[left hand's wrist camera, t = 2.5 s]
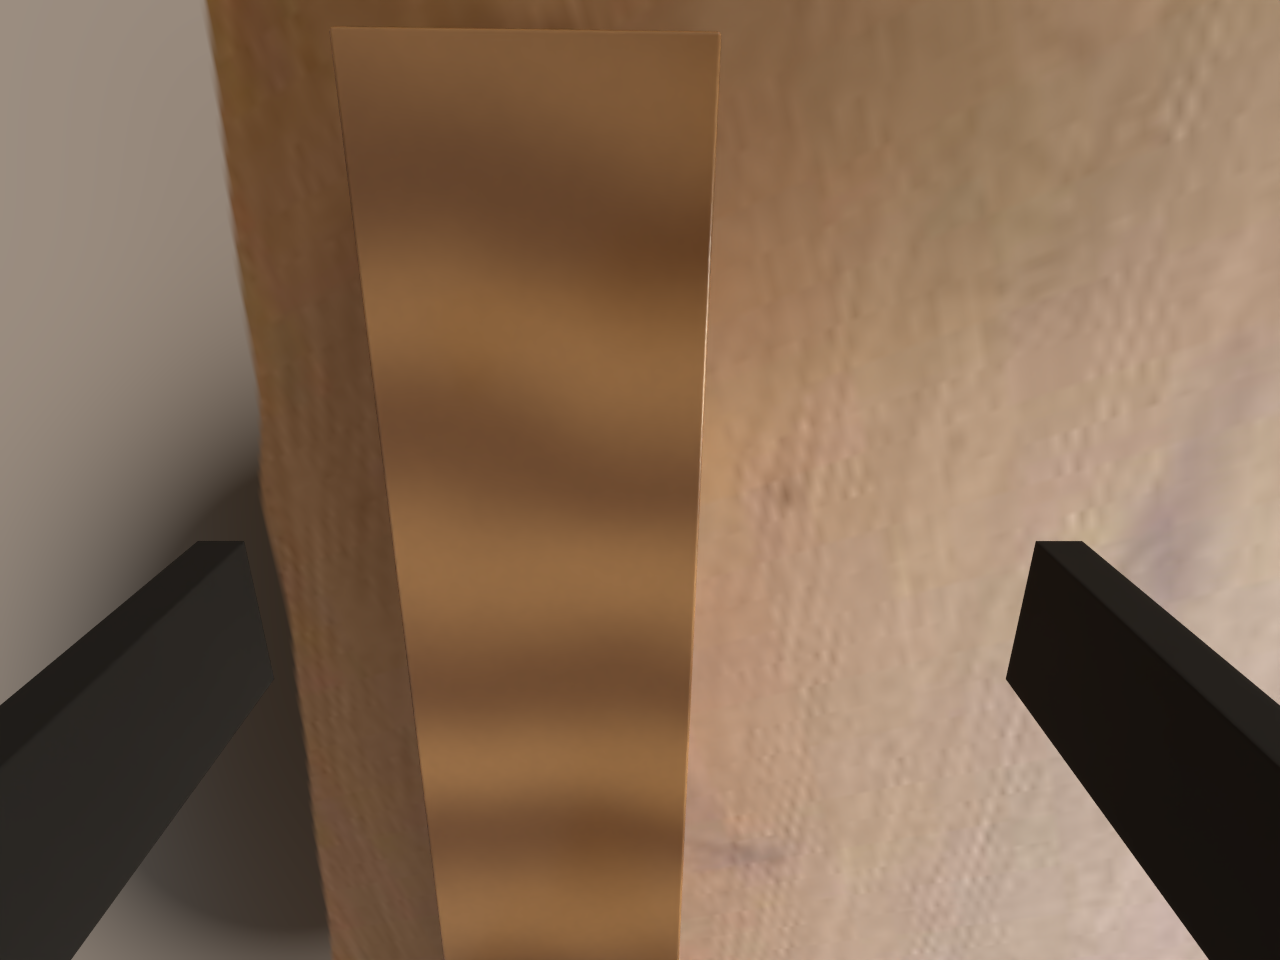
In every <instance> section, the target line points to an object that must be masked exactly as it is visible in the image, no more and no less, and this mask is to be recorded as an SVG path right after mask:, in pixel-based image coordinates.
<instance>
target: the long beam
mask: <svg viewBox="0 0 1280 960" xmlns="http://www.w3.org/2000/svg"><path fill="white" fill-rule="evenodd" d="M330 39H331V47H332V55H333V63H334V71H335V80H336V88H337V96H338V104H339V112H340V120H341V128H342V136H343V144H344V153H345V161H346V169H347V177H348V185H349V193H350V201H351V209H352V217H353V226H354V234H355V242H356V250H357V258H358V266H359V274H360V282H361V290H362V299H363V307H364V315H365V323H366V331H367V339H368V347H369V355H370V364H371V372H372V380H373V388H374V396H375V404H376V412H377V420H378V428H379V437H380V445H381V453H382V461H383V469H384V477H385V485H386V493H387V501H388V510H389V518H390V526H391V534H392V542H393V550H394V558H395V566H396V574H397V583H398V591H399V599H400V607H401V615H402V623H403V631H404V639H405V647H406V656H407V664H408V672H409V680H410V688H411V696H412V704H413V712H414V721H415V729H416V737H417V745H418V753H419V761H420V769H421V777H422V785H423V794H424V802H425V810H426V818H427V826H428V834H429V842H430V850H431V858H432V867H433V875H434V883H435V891H436V899H437V907H438V915H439V923H440V931H441V940H442V948H443V956H444V960H679V944H680V922H681V901H682V879H683V857H684V835H685V814H686V792H687V770H688V748H689V726H690V705H691V683H692V661H693V639H694V618H695V596H696V574H697V552H698V531H699V509H700V487H701V465H702V444H703V422H704V400H705V378H706V356H707V335H708V313H709V291H710V269H711V248H712V226H713V204H714V182H715V161H716V139H717V117H718V95H719V74H720V52H721V34H720V33H719V32H713V31H638V30H563V29H488V28H413V27H338V26H333V27H331V28H330Z"/></svg>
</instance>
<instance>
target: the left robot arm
mask: <svg viewBox="0 0 1280 960" xmlns="http://www.w3.org/2000/svg"><path fill="white" fill-rule="evenodd" d="M273 680H274V676H273V671H272V667H271V662H270V658H269V653H268V649H267V644H266V640H265V635H264V630H263V626H262V621H261V617H260V612H259V607H258V603H257V598H256V594H255V589H254V585H253V580H252V575H251V571H250V566H249V561H248V557H247V552H246V548H245V543H244V541H198V542H196V543H195V544H194V545H193V546H192V547H190V548H189V549H188V550H187V551H185V552H184V553H183V554H182V555H181V556H179V557H178V558H177V559H176V560H175V561H173V562H172V563H171V564H170V565H169V566H167V567H166V568H165V569H164V570H163V571H161V572H160V573H159V574H158V575H157V576H155V577H154V578H153V579H152V580H151V581H149V582H148V583H147V584H146V585H145V586H143V587H142V588H141V589H140V590H139V591H137V592H136V593H135V594H134V595H133V596H131V597H130V598H129V599H128V600H127V601H125V602H124V603H123V604H122V605H121V606H119V607H118V608H117V609H116V610H114V611H113V612H112V613H111V614H110V615H109V616H107V617H106V618H105V619H104V620H102V621H101V622H100V623H99V624H98V625H96V626H95V627H94V628H93V629H92V630H90V631H89V632H88V633H87V634H86V635H84V636H83V637H82V638H81V639H80V640H78V641H77V642H76V643H75V644H74V645H72V646H71V647H70V648H69V649H68V650H66V651H65V652H64V653H63V654H62V655H60V656H59V657H58V658H57V659H56V660H54V661H53V662H52V663H51V664H50V665H48V666H47V667H46V668H45V669H43V670H42V671H41V672H40V673H39V674H37V675H36V676H35V677H34V678H33V679H31V680H30V681H29V682H28V683H27V684H25V685H24V686H23V687H22V688H21V689H19V690H18V691H17V692H16V693H15V694H13V695H12V696H11V697H10V698H9V699H7V700H6V701H5V702H4V703H3V704H1V705H0V960H71V959H72V958H73V956H74V955H75V953H76V952H77V951H78V949H79V948H80V947H81V945H82V944H83V942H84V941H85V940H86V938H87V937H88V935H89V934H90V933H91V931H92V930H93V928H94V927H95V926H96V924H97V923H98V922H99V920H100V919H101V918H102V916H103V915H104V913H105V912H106V911H107V909H108V908H109V906H110V905H111V904H112V902H113V901H114V900H115V898H116V897H117V895H118V894H119V893H120V891H121V890H122V888H123V887H124V886H125V884H126V883H127V882H128V880H129V879H130V877H131V876H132V875H133V873H134V872H135V871H136V869H137V868H138V866H139V865H140V864H141V862H142V861H143V859H144V858H145V857H146V855H147V854H148V853H149V851H150V850H151V848H152V847H153V846H154V844H155V843H156V842H157V840H158V839H159V837H160V836H161V835H162V833H163V832H164V830H165V829H166V828H167V826H168V825H169V824H170V822H171V821H172V819H173V818H174V817H175V815H176V814H177V813H178V811H179V810H180V808H181V807H182V806H183V804H184V803H185V801H186V800H187V799H188V797H189V796H190V795H191V793H192V792H193V790H194V789H195V788H196V786H197V785H198V783H199V782H200V781H201V779H202V778H203V777H204V775H205V774H206V772H207V771H208V770H209V768H210V767H211V765H212V764H213V763H214V761H215V760H216V759H217V757H218V756H219V755H220V753H221V752H222V750H223V749H224V748H225V746H226V745H227V743H228V742H229V741H230V739H231V738H232V737H233V735H234V734H235V732H236V731H237V730H238V728H239V727H240V725H241V724H242V723H243V721H244V720H245V719H246V717H247V716H248V714H249V713H250V712H251V710H252V709H253V708H254V706H255V705H256V703H257V702H258V701H259V699H260V698H261V697H262V695H263V694H264V692H265V691H266V690H267V688H268V687H269V685H270V684H271V683H272V681H273ZM1006 680H1007V681H1008V683H1009V684H1010V685H1011V687H1012V688H1013V690H1014V691H1015V692H1016V694H1017V695H1018V697H1019V698H1020V699H1021V701H1022V702H1023V703H1024V705H1025V706H1026V708H1027V709H1028V710H1029V712H1030V713H1031V714H1032V716H1033V717H1034V719H1035V720H1036V721H1037V723H1038V724H1039V726H1040V727H1041V728H1042V730H1043V731H1044V732H1045V734H1046V735H1047V737H1048V738H1049V739H1050V741H1051V742H1052V744H1053V745H1054V746H1055V748H1056V749H1057V750H1058V752H1059V753H1060V755H1061V756H1062V757H1063V759H1064V760H1065V761H1066V763H1067V764H1068V766H1069V767H1070V768H1071V770H1072V771H1073V773H1074V774H1075V775H1076V777H1077V778H1078V779H1079V781H1080V782H1081V784H1082V785H1083V786H1084V788H1085V789H1086V790H1087V792H1088V793H1089V795H1090V796H1091V797H1092V799H1093V800H1094V802H1095V803H1096V804H1097V806H1098V807H1099V808H1100V810H1101V811H1102V813H1103V814H1104V815H1105V817H1106V818H1107V819H1108V821H1109V822H1110V824H1111V825H1112V826H1113V828H1114V829H1115V831H1116V832H1117V833H1118V835H1119V836H1120V837H1121V839H1122V840H1123V842H1124V843H1125V844H1126V846H1127V847H1128V848H1129V850H1130V851H1131V853H1132V854H1133V855H1134V857H1135V858H1136V860H1137V861H1138V862H1139V864H1140V865H1141V866H1142V868H1143V869H1144V871H1145V872H1146V873H1147V875H1148V876H1149V877H1150V879H1151V880H1152V882H1153V883H1154V884H1155V886H1156V887H1157V889H1158V890H1159V891H1160V893H1161V894H1162V895H1163V897H1164V898H1165V900H1166V901H1167V902H1168V904H1169V905H1170V906H1171V908H1172V909H1173V911H1174V912H1175V913H1176V915H1177V916H1178V918H1179V919H1180V920H1181V922H1182V923H1183V924H1184V926H1185V927H1186V929H1187V930H1188V931H1189V933H1190V934H1191V935H1192V937H1193V938H1194V940H1195V941H1196V942H1197V944H1198V945H1199V947H1200V948H1201V949H1202V951H1203V952H1204V953H1205V955H1206V956H1207V958H1208V959H1209V960H1280V705H1279V704H1277V703H1276V702H1275V701H1274V700H1273V699H1271V698H1270V697H1269V696H1268V695H1267V694H1265V693H1264V692H1263V691H1262V690H1261V689H1259V688H1258V687H1257V686H1256V685H1255V684H1253V683H1252V682H1251V681H1250V680H1249V679H1247V678H1246V677H1245V676H1244V675H1243V674H1241V673H1240V672H1239V671H1238V670H1237V669H1235V668H1234V667H1233V666H1232V665H1230V664H1229V663H1228V662H1227V661H1226V660H1224V659H1223V658H1222V657H1221V656H1220V655H1218V654H1217V653H1216V652H1215V651H1214V650H1212V649H1211V648H1210V647H1209V646H1208V645H1206V644H1205V643H1204V642H1203V641H1202V640H1200V639H1199V638H1198V637H1197V636H1196V635H1194V634H1193V633H1192V632H1191V631H1190V630H1188V629H1187V628H1186V627H1185V626H1184V625H1182V624H1181V623H1180V622H1179V621H1178V620H1176V619H1175V618H1174V617H1173V616H1172V615H1170V614H1169V613H1168V612H1167V611H1166V610H1164V609H1163V608H1162V607H1161V606H1159V605H1158V604H1157V603H1156V602H1155V601H1153V600H1152V599H1151V598H1150V597H1149V596H1147V595H1146V594H1145V593H1144V592H1143V591H1141V590H1140V589H1139V588H1138V587H1137V586H1135V585H1134V584H1133V583H1132V582H1131V581H1129V580H1128V579H1127V578H1126V577H1125V576H1123V575H1122V574H1121V573H1120V572H1119V571H1117V570H1116V569H1115V568H1114V567H1113V566H1111V565H1110V564H1109V563H1108V562H1107V561H1105V560H1104V559H1103V558H1102V557H1101V556H1099V555H1098V554H1097V553H1096V552H1095V551H1093V550H1092V549H1091V548H1090V547H1088V546H1087V545H1086V544H1085V543H1084V542H1082V541H1036V543H1035V548H1034V552H1033V557H1032V561H1031V566H1030V571H1029V575H1028V580H1027V584H1026V589H1025V594H1024V598H1023V603H1022V607H1021V612H1020V616H1019V621H1018V626H1017V630H1016V635H1015V639H1014V644H1013V649H1012V653H1011V658H1010V662H1009V667H1008V671H1007V676H1006Z"/></svg>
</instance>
